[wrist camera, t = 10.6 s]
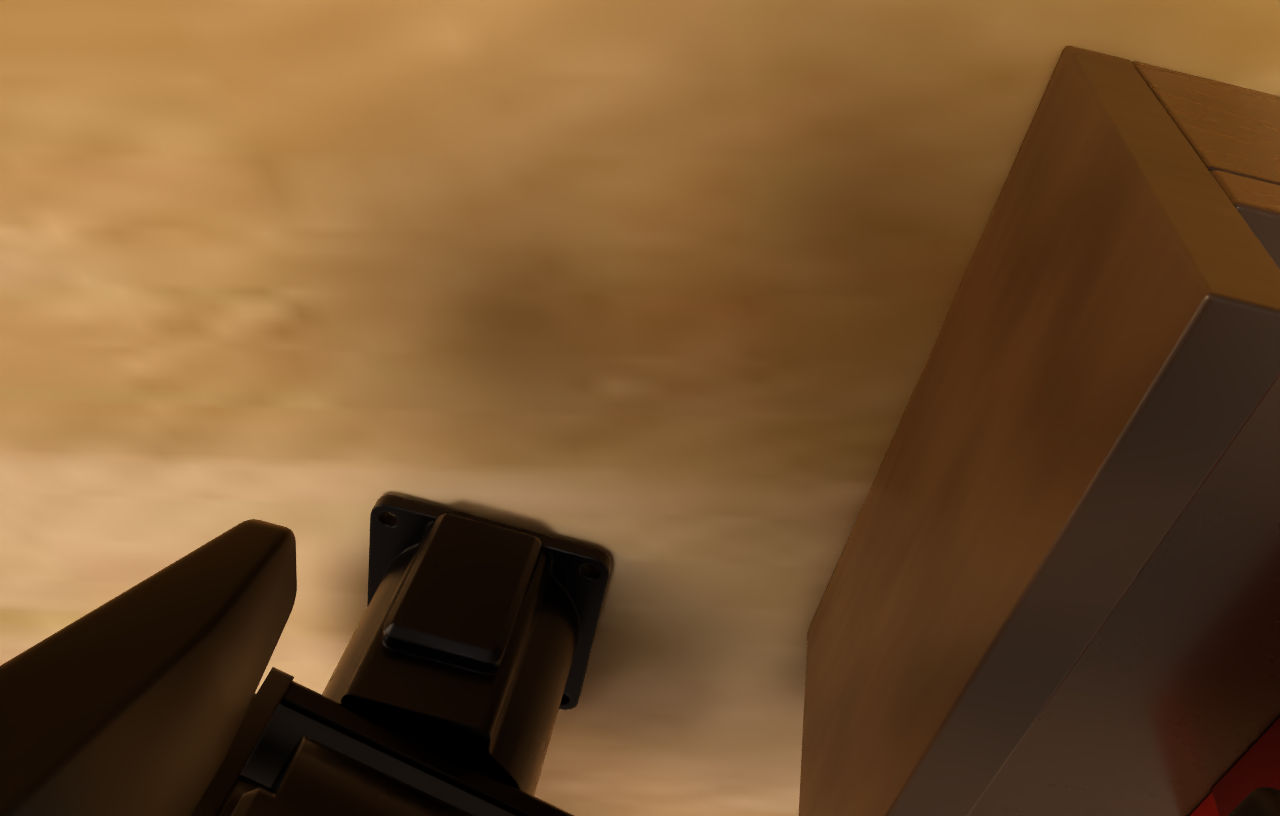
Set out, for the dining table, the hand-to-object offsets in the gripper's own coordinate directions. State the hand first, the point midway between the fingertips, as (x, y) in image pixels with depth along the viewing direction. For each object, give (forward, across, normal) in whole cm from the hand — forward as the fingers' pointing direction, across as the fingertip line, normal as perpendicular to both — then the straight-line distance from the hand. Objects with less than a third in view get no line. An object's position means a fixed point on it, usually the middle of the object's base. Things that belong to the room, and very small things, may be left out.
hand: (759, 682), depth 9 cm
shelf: (+13, -11, +5) cm, 18 cm away
